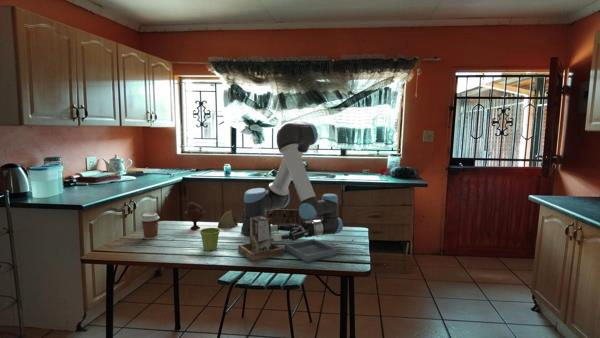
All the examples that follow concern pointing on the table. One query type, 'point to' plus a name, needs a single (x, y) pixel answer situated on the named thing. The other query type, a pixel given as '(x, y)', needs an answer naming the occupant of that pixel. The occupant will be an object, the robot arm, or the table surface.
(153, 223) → the coffee cup
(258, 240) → the coffee box
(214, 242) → the plant pot
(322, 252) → the tray
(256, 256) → the square wooden frame
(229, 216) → the rock
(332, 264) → the table surface
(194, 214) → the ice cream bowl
